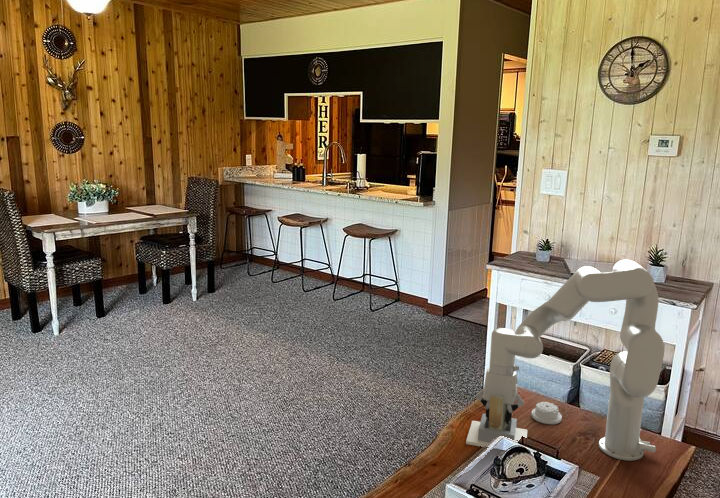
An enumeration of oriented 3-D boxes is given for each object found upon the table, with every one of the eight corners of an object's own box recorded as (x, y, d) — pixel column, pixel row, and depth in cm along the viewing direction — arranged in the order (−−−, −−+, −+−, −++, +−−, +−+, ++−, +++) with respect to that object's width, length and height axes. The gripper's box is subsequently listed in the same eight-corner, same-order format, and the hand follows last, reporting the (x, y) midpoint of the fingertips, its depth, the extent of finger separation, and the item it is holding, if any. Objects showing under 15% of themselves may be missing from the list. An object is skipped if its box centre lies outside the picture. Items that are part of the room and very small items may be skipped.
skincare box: (495, 422, 183) (497, 387, 181) (507, 426, 181) (510, 391, 178) (487, 430, 178) (489, 395, 176) (500, 434, 175) (502, 398, 173)
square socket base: (527, 432, 184) (528, 418, 183) (525, 454, 171) (526, 439, 170) (472, 423, 189) (472, 409, 188) (465, 443, 176) (466, 429, 175)
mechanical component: (564, 425, 189) (557, 411, 198) (566, 413, 188) (558, 400, 198) (534, 424, 189) (528, 410, 199) (535, 412, 189) (529, 398, 198)
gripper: (530, 367, 176) (526, 420, 180) (475, 359, 182) (473, 411, 185) (529, 376, 169) (525, 431, 173) (472, 368, 175) (469, 421, 178)
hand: (498, 420), depth 179 cm, fingers closed on skincare box, 5 cm apart
